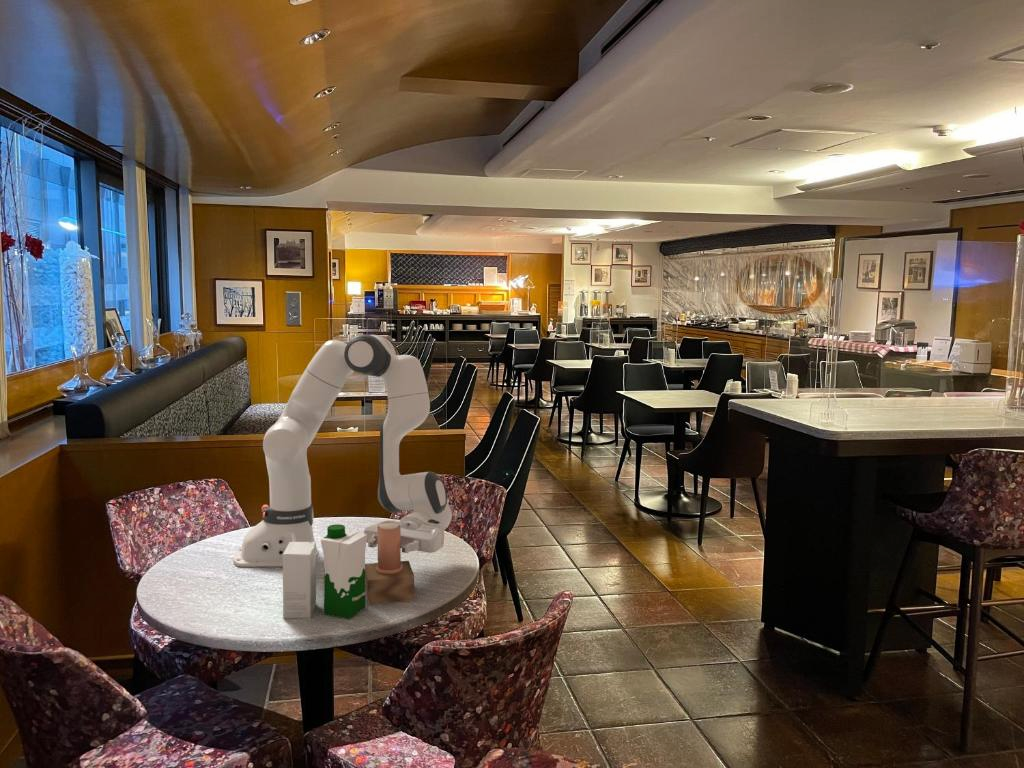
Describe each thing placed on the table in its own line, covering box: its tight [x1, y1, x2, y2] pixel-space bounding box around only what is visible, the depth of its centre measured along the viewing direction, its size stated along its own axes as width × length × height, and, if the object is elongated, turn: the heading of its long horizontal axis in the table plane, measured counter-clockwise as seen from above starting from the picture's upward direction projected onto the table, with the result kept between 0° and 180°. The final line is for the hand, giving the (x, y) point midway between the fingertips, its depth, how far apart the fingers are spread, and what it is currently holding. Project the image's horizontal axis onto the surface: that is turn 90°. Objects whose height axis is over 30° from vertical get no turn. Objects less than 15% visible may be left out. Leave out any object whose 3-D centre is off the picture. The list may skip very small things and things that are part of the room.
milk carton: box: [320, 523, 367, 620], centre depth 173 cm, size 9×9×20 cm
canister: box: [376, 520, 403, 575], centre depth 184 cm, size 7×7×12 cm
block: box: [365, 560, 415, 605], centre depth 185 cm, size 11×11×6 cm
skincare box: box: [282, 541, 317, 620], centre depth 173 cm, size 8×7×16 cm
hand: (387, 547), depth 183 cm, fingers open, 8 cm apart
